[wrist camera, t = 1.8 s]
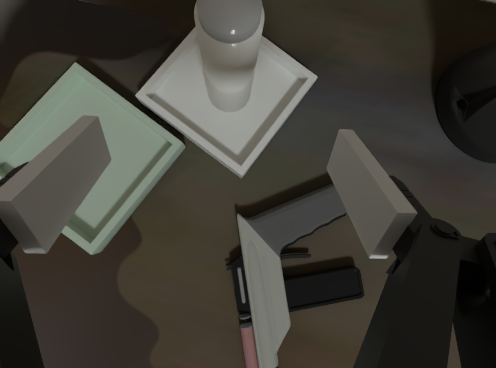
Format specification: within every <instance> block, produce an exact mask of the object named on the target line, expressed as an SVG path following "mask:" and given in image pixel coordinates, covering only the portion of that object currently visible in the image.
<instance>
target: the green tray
mask: <svg viewBox="0 0 496 368" xmlns="http://www.w3.org/2000/svg"><path fill="white" fill-rule="evenodd" d="M83 115H87V116H98V117H99V120H100V124H101V127H102V130H103V133H104V137H105V140H106V143H107V146H108V149H109V153H110V156H111V159H112V160H111V162H110V163H109V165H108V166H107V167H106V169H105V170H104V172H103V173H102V175H101V176H100V177H99V179H98V180H97V182H96V183H95V185H94V186H93V187H92V189H91V190H90V192H89V193H88V195H87V196H86V197H85V199H84V200H83V202H82V203H81V205H80V206H79V207H78V209H77V210H76V212H75V213H74V215H73V216H72V217H71V219H70V220H69V222H68V223H67V225H66V226H65V227H64V229H63V230H62V233H63V234H64V235H66V236H67V237H68V238H70V239H71V240H72V241H74V242H75V243H77V244H78V245H79V246H80V247H82V248H83V249H84V250H86V251H87V252H88V253H90V254H91V255H93V254H96V253H99V252H101V251H102V250H103V249H104V248H105V247H106V245H107V244H108V243H109V242H110V240H111V239H112V238H113V237H114V235H115V234H116V233H117V232H118V230H119V229H120V228H121V227H122V225H123V224H124V223H125V222H126V221H127V219H128V218H129V217H130V216H131V214H132V213H133V212H134V211H135V210H136V208H137V207H138V206H139V205H140V203H141V202H142V201H143V200H144V198H145V197H146V196H147V195H148V194H149V192H150V191H151V190H152V189H153V187H154V186H155V185H156V184H157V182H158V181H159V180H160V179H161V178H162V176H163V175H164V174H165V173H166V171H167V170H168V169H169V168H170V166H171V165H172V164H173V163H174V161H175V160H176V159H177V158H178V157H179V155H180V154H181V153H182V152H183V150H184V149H185V148H186V147H185V145H184V144H183V142H181V141H180V140H179V139H177V138H176V137H175V136H173V135H172V134H171V133H169V132H168V131H167V130H165V129H164V128H163V127H161V126H160V125H159V124H157V123H156V122H155V121H153V120H152V119H151V118H149V117H148V116H147V115H145V114H144V113H143V112H141V111H140V110H139V109H137V108H136V107H135V106H133V105H132V104H131V103H129V102H128V101H127V100H125V99H124V98H123V97H121V96H120V95H119V94H117V93H116V92H115V91H113V90H112V89H111V88H109V87H108V86H107V85H105V84H104V83H103V82H101V81H100V80H99V79H97V78H96V77H95V76H93V75H92V74H91V73H89V72H88V71H87V70H85V69H84V68H83V67H81V66H80V65H79V64H77V63H76V62H75V63H74V64H73V65H72V66H71V67H70V68H69V69H68V70H67V72H66V73H65V74H64V75H63V76H62V77H61V78H60V79H59V80H58V81H57V82H56V83H55V84H54V85H53V86H52V88H51V89H50V90H49V91H48V92H47V93H46V94H45V95H44V96H43V97H42V98H41V99H40V100H39V101H38V102H37V103H36V105H35V106H34V107H33V108H32V109H31V110H30V111H29V112H28V113H27V114H26V115H25V116H24V117H23V118H22V119H21V120H20V122H19V123H18V124H17V125H16V126H15V127H14V128H13V129H12V130H11V131H10V132H9V133H8V134H7V135H6V136H5V137H4V139H3V140H2V141H1V142H0V180H1V179H2V178H5V175H7V174H8V173H9V172H10V171H11V170H13V169H14V168H16V167H18V166H20V165H22V164H24V163H26V162H30V161H31V160H32V159H33V158H35V157H36V156H37V155H38V154H39V153H40V152H41V151H43V150H44V149H45V148H46V147H47V146H48V145H49V144H51V143H52V142H53V141H54V140H55V139H56V138H58V137H59V136H60V135H61V134H62V133H63V132H64V131H66V130H67V129H68V128H69V127H70V126H71V125H72V124H74V123H75V122H76V121H77V120H78V119H79V118H81V117H82V116H83Z"/></svg>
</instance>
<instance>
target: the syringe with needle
mask: <svg viewBox="0 0 496 368" xmlns="http://www.w3.org/2000/svg"><path fill="white" fill-rule="evenodd" d="M346 213H347V211H346V209H345V207H344V204H343V202H342V200H341V198H340V196H339V194H338V192H337V190H336V188H335V186H334V184H333V183H332V184H329V185H327V186H325V187H322V188H320V189H317V190H315V191H312V192H310V193H308V194H305V195H303V196H300V197H298V198H296V199H293V200H291V201H288V202H286V203H283V204H281V205H279V206H276V207H274V208H271V209H269V210H267V211H264V212H262V213H260V214H258V215H255V216H253V217H250V218H246V217H244V218H243V217H242V216H241V215H240V214H238V213H237V223H238V229H239V236H240V243H241V250H242V255H240V256H239V257H237V258H236V259H235V260H233V261H232V262H231V267H227V270H230V269H232V274H233V281H234V288H235V295H236V302H237V308H238V309H239V310H243V311H247V312H251V314H250V313H245V314H240V315H239V318H240V319H245V321H246V319H247V318H249V317H251V318H252V323H251V322H248V323H243V324H241V325H240V330H241V337H242V344H243V351H244V358H245V366H246V368H277V366H278V356H277V351H278V349H279V347H280V345H281V343H282V341H283V339H284V337H285V335H286V334H287V332H288V330H289V328H290V325H291V323H290V317H289V312H292V311H297V310H302V309H307V308H312V307H318V306H323V305H328V304H333V303H338V302H343V301H348V300H354V299H359V298H362V297H363V296H364V290H363V285H362V279H361V274H360V270H359V269H358V268H356V267H354V266H346V267H340V268H335V269H329V270H324V271H318V272H312V273H307V274H301V275H296V276H290V277H285V278H283V273H282V266H281V260H282V259H289V258H311V254H291V255H283V256H280V254H281V252H282V251H283V250H284V249H285V248H286V247H288V246H290V245H293V244H294V243H295V242H296V241H298V240H299V239H301V238H304V237H306V236H309V235H311V234H313V233H314V231H316V230H317V229H319V228H321V227H323V226H327V225H329V224H330V223H332V222H333V221H335V220H337V219H339V218H341V217H343V216H345V215H346Z"/></svg>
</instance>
